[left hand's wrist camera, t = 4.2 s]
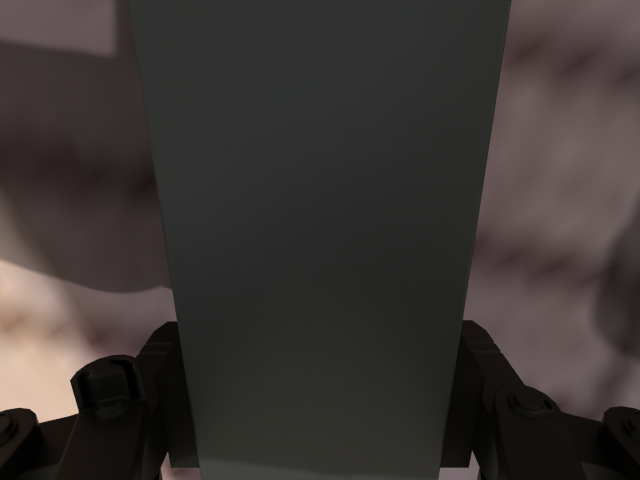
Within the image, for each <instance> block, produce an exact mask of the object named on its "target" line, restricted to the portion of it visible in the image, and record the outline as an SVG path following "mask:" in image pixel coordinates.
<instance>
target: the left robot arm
mask: <svg viewBox="0 0 640 480" xmlns="http://www.w3.org/2000/svg"><path fill="white" fill-rule="evenodd" d="M70 382H71V385H72V389H73V392H74V396H75V399H76V403H77V406H78V410H79V413H78V414H75V415H72V416H68V417H64V418H60V419H55V420H51V421H47V422H43V423H39V422H38V419H37V416H36V414H35V413H34V412H33V411H31V410H30V409H24V408H15V409H9V410H4V411H2V412H0V480H163V479H162V473H161V466H162V463H163V461H164V459H165V456H166V454H167V452H168V454H169V459H170V465H171V468H185V467H199V460H198V454H197V447H196V441H195V434H194V428H193V421H192V415H191V408H190V402H189V395H188V389H187V382H186V375H185V369H184V362H183V356H182V349H181V343H180V336H179V330H178V323H177V322H167V323H165V324H164V325H162V326H161V327H160V328H158V329H157V330H155V331H154V332H153V334H152V335H151V337H150V338H149V339H148V341H147V342H146V345H144V346H143V348H142V349H141V351H140V353H139V355H137V356H136V358H134V357H132V356H128V355H112V356H108V357H104V358H100V359H98V360H95V361H93V362H91V363H89V364H87V365H85V366H84V367H83V368H81V369H80V370H79V371H77V372H76V373H75V375H74V376H73V377H72V379H71V380H70ZM472 451H473V453H474V455H475V457H476V460H477V462H478V464H479V467H480V468H479V473H478V478H477V480H640V410H638V409H635V408H629V407H623V406H619V407H611V408H609V409H608V410H607V411H606V412H604V415H603V418H602V421H601V422H600V421H596V420H591V419H587V418H583V417H579V416H574V415H570V414H567V413H564V412H561V411H560V409H559V407H558V406H557V404H556V403H555V402H554V401H553V400H552V399H551V398H549V397H548V396H547V395H546V394H544V393H542V392H540V391H538V390H537V389H535V388H532V387H529V386H525V385H524V383H523V382H522V381H521V379H520V378H519V376H518V375H517V374H516V372H515V371H514V369H513V368H512V366H511V365H510V364H509V362H508V361H507V359H506V358H505V357H504V355H503V354H502V353H500V350H499V348H498V347H497V345H496V344H494V341H493V340H492V338H491V337H490V335H489V334H488V333H487V331H486V330H485V329H483V328H482V327H481V326H479V325H478V324H476V323H475V322H474V321H472V320H462V327H461V333H460V340H459V346H458V353H457V359H456V366H455V372H454V379H453V386H452V392H451V399H450V405H449V412H448V418H447V425H446V432H445V438H444V445H443V451H442V458H441V464H440V468H469V463H470V458H471V453H472Z"/></svg>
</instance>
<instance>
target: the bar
mask: <svg viewBox="0 0 640 480" xmlns="http://www.w3.org/2000/svg"><path fill="white" fill-rule="evenodd" d="M128 3H129V9H130V16H131V22H132V29H133V36H134V42H135V49H136V55H137V62H138V68H139V75H140V81H141V88H142V94H143V101H144V107H145V114H146V121H147V127H148V134H149V140H150V147H151V153H152V160H153V166H154V173H155V179H156V186H157V192H158V199H159V206H160V212H161V219H162V225H163V232H164V238H165V245H166V251H167V258H168V264H169V271H170V277H171V284H172V290H173V297H174V304H175V310H176V317H177V323H178V330H179V336H180V343H181V349H182V356H183V362H184V369H185V375H186V382H187V389H188V395H189V402H190V408H191V415H192V421H193V428H194V434H195V441H196V447H197V454H198V460H199V467H200V474H201V480H438V477H439V471H440V464H441V458H442V451H443V445H444V438H445V432H446V425H447V418H448V412H449V405H450V399H451V392H452V386H453V379H454V372H455V366H456V359H457V353H458V346H459V340H460V333H461V327H462V320H463V313H464V307H465V300H466V294H467V287H468V281H469V274H470V268H471V261H472V254H473V248H474V241H475V235H476V228H477V222H478V215H479V209H480V202H481V195H482V189H483V182H484V176H485V169H486V163H487V156H488V150H489V143H490V136H491V130H492V123H493V117H494V110H495V104H496V97H497V91H498V84H499V77H500V71H501V64H502V58H503V51H504V45H505V38H506V32H507V25H508V18H509V12H510V5H511V0H128Z"/></svg>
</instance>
